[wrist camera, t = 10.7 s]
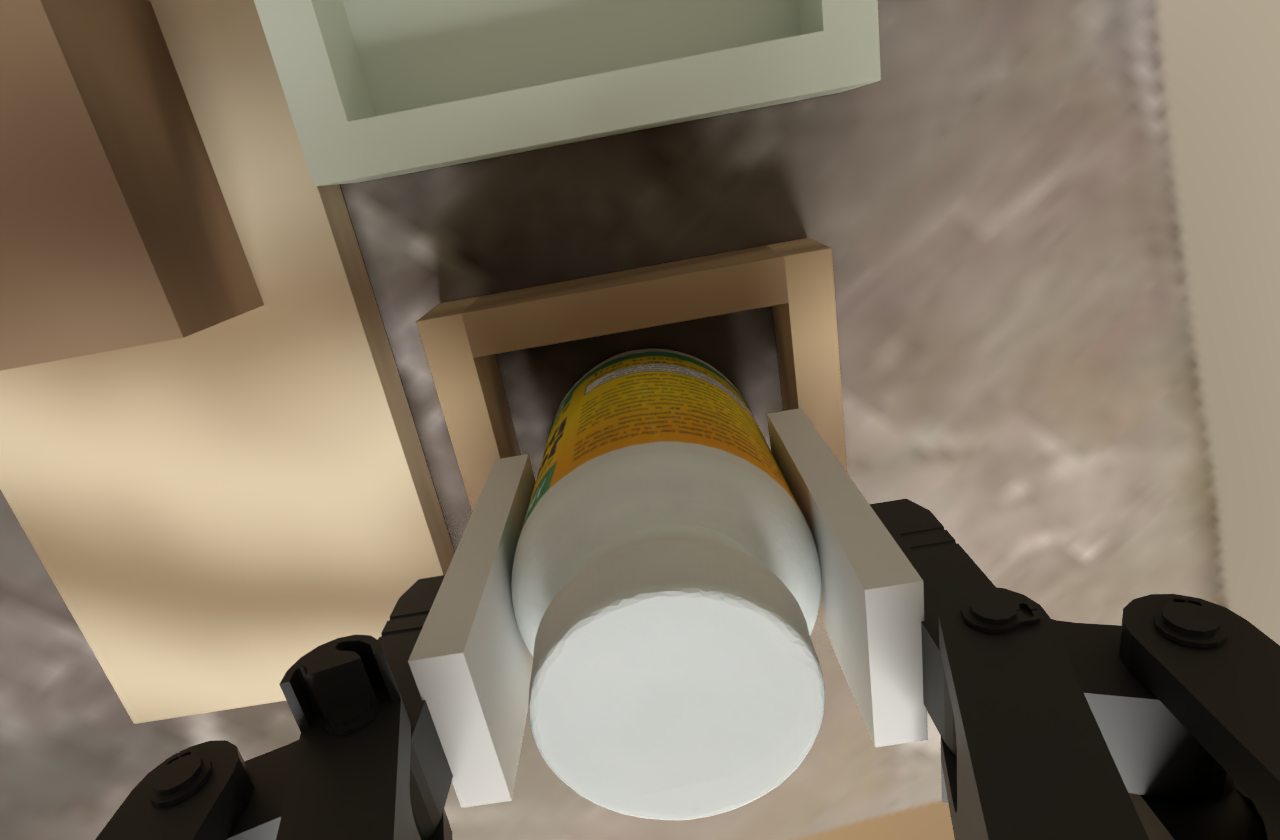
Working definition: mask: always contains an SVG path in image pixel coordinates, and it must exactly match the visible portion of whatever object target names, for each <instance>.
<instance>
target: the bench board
mask: <svg viewBox="0 0 1280 840" xmlns="http://www.w3.org/2000/svg"><path fill="white" fill-rule="evenodd" d="M146 1H149V2H151V4H152V7H153V9H154V12H155V15H156V18H157V20H158V23H159V26H160V28H161V31H162V34H163V36H164V39H165V42H166V44H167V47H168V50H169V52H170V55H171V58H172V60H173V63H174V66H175V68H176V71H177V74H178V76H179V79H180V82H181V84H182V87H183V90H184V92H185V95H186V98H187V100H188V103H189V106H190V108H191V111H192V114H193V116H194V119H195V122H196V124H197V127H198V130H199V132H200V135H201V138H202V140H203V143H204V146H205V148H206V151H207V154H208V156H209V159H210V162H211V164H212V167H213V170H214V172H215V175H216V178H217V180H218V183H219V186H220V188H221V191H222V194H223V196H224V199H225V202H226V204H227V207H228V210H229V212H230V215H231V218H232V220H233V223H234V226H235V228H236V231H237V234H238V236H239V239H240V242H241V244H242V247H243V250H244V252H245V255H246V258H247V260H248V263H249V266H250V268H251V271H252V274H253V277H254V279H255V282H256V285H257V287H258V290H259V293H260V295H261V298H262V301H263V303H264V305H263V306H261V307H258V308H256V309H253V310H251V311H248V312H246V313H244V314H241V315H239V316H236V317H234V318H231V319H229V320H226V321H224V322H221V323H219V324H216V325H214V326H211V327H209V328H206V329H204V330H201V331H199V332H196V333H194V334H192V335H189V336H187V337H184V338H179V339H174V340H168V341H163V342H157V343H151V344H146V345H140V346H135V347H129V348H124V349H118V350H113V351H107V352H101V353H96V354H90V355H85V356H79V357H74V358H68V359H62V360H57V361H51V362H46V363H40V364H35V365H29V366H24V367H18V368H12V369H7V370H1V371H0V489H1V491H2V493H3V494H4V496H5V498H6V500H7V502H8V503H9V505H10V507H11V509H12V510H13V512H14V514H15V516H16V517H17V519H18V521H19V523H20V524H21V526H22V528H23V530H24V531H25V533H26V535H27V537H28V538H29V540H30V542H31V544H32V545H33V547H34V549H35V551H36V552H37V554H38V556H39V558H40V559H41V561H42V563H43V565H44V566H45V568H46V570H47V572H48V573H49V575H50V577H51V579H52V581H53V582H54V584H55V586H56V588H57V589H58V591H59V593H60V595H61V596H62V598H63V600H64V602H65V603H66V605H67V607H68V609H69V610H70V612H71V614H72V616H73V617H74V619H75V621H76V623H77V624H78V626H79V628H80V630H81V631H82V633H83V635H84V637H85V638H86V640H87V642H88V644H89V645H90V647H91V649H92V651H93V653H94V654H95V656H96V658H97V660H98V661H99V663H100V665H101V667H102V668H103V670H104V672H105V674H106V675H107V677H108V679H109V681H110V682H111V684H112V686H113V688H114V689H115V691H116V693H117V695H118V696H119V698H120V700H121V702H122V703H123V705H124V707H125V709H126V710H127V712H128V714H129V716H130V717H131V719H132V721H133V723H134V724H136V723H143V722H149V721H155V720H162V719H168V718H175V717H181V716H188V715H194V714H201V713H207V712H214V711H220V710H227V709H233V708H240V707H246V706H253V705H259V704H266V703H272V702H278V701H285V700H286V698H285V696H284V694H283V691H282V689H281V687H280V685H279V684H280V682H281V680H282V679H283V677H284V675H285V673H286V672H287V670H288V669H289V668H290V667H291V666H292V665H294V664H295V663H296V662H297V661H298V660H299V659H300V658H301V657H302V656H304V655H305V654H307V653H309V652H310V651H312V650H313V649H315V648H316V647H318V646H320V645H322V644H325V643H327V642H330V641H332V640H335V639H337V638H341V637H346V636H351V635H356V634H357V635H371V636H372V637H374V638H376V639H377V640H378V638H379V637H381V636H382V634H381V632H382V630H383V628H384V627H385V625H386V623H387V621H390V615H391V613H392V611H393V609H394V607H395V605H396V603H397V601H398V599H399V598H400V597H401V596H402V595H403V594H404V593H405V592H406V591H407V590H408V589H409V588H410V587H411V586H412V585H413V584H414V583H415V582H416V581H417V580H419V579H423V578H429V577H436V576H442V575H445V574H446V572H447V570H448V568H449V565H450V563H451V561H452V558H453V556H454V554H455V552H454V548H453V545H452V542H451V539H450V536H449V533H448V529H447V526H446V523H445V520H444V517H443V513H442V510H441V507H440V504H439V501H438V497H437V494H436V491H435V488H434V485H433V482H432V478H431V475H430V472H429V469H428V466H427V462H426V459H425V456H424V453H423V450H422V446H421V443H420V440H419V437H418V434H417V431H416V427H415V424H414V421H413V418H412V415H411V411H410V408H409V405H408V402H407V399H406V395H405V392H404V389H403V386H402V383H401V380H400V376H399V373H398V370H397V367H396V364H395V360H394V357H393V354H392V351H391V348H390V344H389V341H388V338H387V335H386V332H385V329H384V325H383V322H382V319H381V316H380V313H379V309H378V306H377V303H376V300H375V297H374V293H373V290H372V287H371V284H370V281H369V278H368V274H367V271H366V268H365V265H364V262H363V258H362V255H361V252H360V249H359V246H358V242H357V239H356V236H355V233H354V230H353V227H352V223H351V220H350V217H349V214H348V211H347V207H346V204H345V201H344V198H343V195H342V191H341V188H340V185H339V184H337V185H325V186H314V183H313V180H312V177H311V174H310V171H309V168H308V165H307V162H306V159H305V156H304V153H303V150H302V147H301V144H300V141H299V138H298V134H297V131H296V128H295V125H294V122H293V119H292V116H291V113H290V110H289V107H288V104H287V101H286V98H285V95H284V92H283V89H282V85H281V82H280V79H279V76H278V73H277V70H276V67H275V64H274V61H273V58H272V55H271V52H270V49H269V46H268V43H267V40H266V36H265V33H264V30H263V27H262V24H261V21H260V18H259V15H258V12H257V9H256V6H255V3H254V0H146Z"/></svg>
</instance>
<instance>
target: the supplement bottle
mask: <svg viewBox="0 0 1280 840" xmlns="http://www.w3.org/2000/svg"><path fill="white" fill-rule="evenodd" d="M511 588H512V602H513V607H514V613H515V618H516V621H517V625H518V628H519V631H520V633H521V636H522V638H523V640H524V642H525V644H526V646H527V648H528V650H529V652H530V653H531V655H532V656H533V664H532V672H531V679H530V687H529V719H530V726H531V730H532V734H533V737H534V740H535V742H536V745H537V747H538V749H539V751H540V753H541V755H542V757H543V758H544V760H545V762H546V763H547V764H548V766H549V767H550V768H551V770H552V771H553V772H554V773H555V774H556V775H557V776H558V777H559V778H560V779H561V780H562V781H563V782H564V783H565V784H567V785H568V786H569V787H570V788H572V789H573V790H574V791H575V792H577V793H578V794H579V795H581V796H582V797H584V798H586V799H588V800H590V801H591V802H593V803H594V804H597V805H599V806H602V807H604V808H607V809H610V810H613V811H615V812H618V813H620V814H623V815H630V816H635V817H639V818H648V819H659V820H690V819H696V818H704V817H710V816H713V815H717V814H721V813H724V812H728V811H730V810H733V809H736V808H738V807H741V806H743V805H745V804H748V803H750V802H752V801H754V800H756V799H758V798H760V797H762V796H763V795H765V794H767V793H768V792H769V791H771V790H772V789H774V788H776V787H777V786H779V785H780V784H781V783H782V782H783V781H784V780H785V779H787V778H788V777H789V775H790V774H791V773H793V772H794V771H795V770H796V769H797V768H798V766H799V765H800V764H801V763H802V761H803V760H804V758H805V757H806V755H807V753H808V752H809V750H810V749H811V747H812V745H813V743H814V740H815V738H816V736H817V734H818V731H819V729H820V726H821V722H822V718H823V713H824V695H825V688H824V681H823V676H822V672H821V667H820V663H819V660H818V657H817V655H816V652H815V649H814V646H813V644H812V641H811V638H810V635H811V632H812V630H813V627H814V624H815V621H816V617H817V614H818V610H819V604H820V597H821V569H820V562H819V556H818V552H817V548H816V544H815V541H814V538H813V535H812V532H811V530H810V528H809V526H808V524H807V522H806V519H805V517H804V515H803V513H802V511H801V509H800V507H799V505H798V503H797V502H796V500H795V498H794V496H793V494H792V492H791V490H790V488H789V486H788V484H787V482H786V480H785V478H784V476H783V474H782V472H781V470H780V468H779V466H778V464H777V462H776V461H775V459H774V457H773V455H772V453H771V451H770V449H769V447H768V445H767V443H766V440H765V438H764V436H763V435H762V432H761V430H760V428H759V426H758V424H757V422H756V420H755V419H754V416H753V414H752V412H751V410H750V409H749V407H748V405H747V403H746V402H745V400H744V398H743V397H742V395H741V394H740V392H739V391H738V390H737V388H736V387H735V386H734V385H733V384H732V383H731V382H730V381H729V380H728V379H727V378H726V377H725V376H724V375H723V374H722V373H720V372H719V371H718V370H717V369H715V368H714V367H712V366H711V365H709V364H708V363H706V362H704V361H702V360H700V359H698V358H696V357H694V356H691V355H689V354H686V353H682V352H678V351H673V350H667V349H640V350H633V351H628V352H624V353H621V354H618V355H615V356H613V357H611V358H609V359H607V360H605V361H603V362H602V363H600V364H598V365H597V366H595V367H594V368H592V369H591V370H590V371H589V372H587V373H586V374H585V375H584V376H583V377H582V378H581V379H580V380H578V381H577V382H576V383H575V385H574V386H573V387H572V388H571V389H570V391H569V392H568V393H567V395H566V396H565V398H564V399H563V401H562V403H561V405H560V406H559V408H558V411H557V413H556V415H555V418H554V421H553V424H552V427H551V431H550V434H549V438H548V441H547V445H546V448H545V452H544V455H543V459H542V463H541V466H540V469H539V473H538V476H537V480H536V483H535V486H534V489H533V493H532V496H531V499H530V503H529V506H528V510H527V513H526V516H525V519H524V523H523V526H522V530H521V533H520V536H519V539H518V543H517V547H516V551H515V556H514V562H513V569H512V582H511Z"/></svg>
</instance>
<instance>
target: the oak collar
mask: <svg viewBox="0 0 1280 840" xmlns="http://www.w3.org/2000/svg"><path fill="white" fill-rule="evenodd" d="M768 306H772V308H773V317H774V327H775V337H776V346H777V356H778V366H779V375H780V385H781V395H782V404H783V411H787V410H793V409H799V408H802V410H803V411H804V412H805V414H806V415H807V417H808V418H809V420H810V421H811V422H812V424H813V425H814V427H815V428H816V429H817V431H818V432H819V434H820V435H821V437H822V438H823V439H824V441H825V442H826V444H827V445H828V447H829V448H830V449H831V451H832V452H833V454H834V455H835V456H836V458H837V459H838V461H839V462H840V464H841V465H842V466H843V468H844V469H845V471H846V472H847V462H846V448H845V434H844V419H843V405H842V391H841V377H840V362H839V348H838V334H837V320H836V305H835V291H834V277H833V263H832V248H830V247H828V246H826V245H823V244H821V243H819V242H816V241H814V240H812V239H809V238H804V239H798V240H793V241H787V242H782V243H776V244H770V245H765V246H759V247H753V248H748V249H742V250H737V251H731V252H725V253H720V254H714V255H709V256H703V257H697V258H692V259H686V260H681V261H675V262H669V263H664V264H658V265H653V266H647V267H641V268H636V269H630V270H624V271H619V272H613V273H608V274H602V275H596V276H591V277H585V278H580V279H574V280H568V281H563V282H557V283H552V284H546V285H540V286H535V287H529V288H524V289H518V290H512V291H507V292H501V293H495V294H490V295H484V296H479V297H473V298H467V299H462V300H456V301H451V302H445V303H440V304H438V305H437V306H436V307H434V308H433V309H432V310H431V311H429V312H428V313H427V314H425V315H424V316H423V317H422V318H420V319H419V320H418V321H416V323H417V326H418V330H419V333H420V336H421V340H422V343H423V347H424V350H425V353H426V357H427V360H428V364H429V367H430V370H431V374H432V377H433V380H434V384H435V387H436V391H437V394H438V397H439V401H440V404H441V408H442V411H443V414H444V418H445V421H446V424H447V428H448V431H449V435H450V438H451V441H452V445H453V448H454V451H455V455H456V458H457V462H458V465H459V468H460V472H461V475H462V479H463V482H464V485H465V489H466V492H467V495H468V499H469V502H470V506H471V509H472V512H473V510H474V508H475V505H476V503H477V501H478V498H479V496H480V494H481V491H482V489H483V487H484V484H485V482H486V480H487V477H488V475H489V473H490V471H491V468H492V466H493V464H494V461H495V459H501V458H507V457H513V456H519V455H521V454H520V450H519V447H518V443H517V439H516V435H515V431H514V427H513V423H512V419H511V416H510V412H509V408H508V404H507V400H506V396H505V392H504V388H503V385H502V381H501V377H500V373H499V369H498V365H497V361H496V357H495V354H498V353H504V352H510V351H516V350H521V349H527V348H533V347H538V346H544V345H550V344H556V343H561V342H567V341H573V340H579V339H584V338H590V337H596V336H602V335H607V334H613V333H619V332H624V331H630V330H636V329H642V328H647V327H653V326H659V325H665V324H670V323H676V322H682V321H688V320H693V319H699V318H705V317H710V316H716V315H722V314H728V313H733V312H739V311H745V310H751V309H756V308H762V307H768Z"/></svg>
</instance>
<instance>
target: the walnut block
mask: <svg viewBox="0 0 1280 840" xmlns="http://www.w3.org/2000/svg"><path fill="white" fill-rule="evenodd" d="M263 305H264V303H263V301H262V298H261V295H260V293H259V290H258V287H257V285H256V282H255V279H254V277H253V274H252V271H251V268H250V266H249V263H248V260H247V258H246V255H245V252H244V250H243V247H242V244H241V242H240V239H239V236H238V234H237V231H236V228H235V226H234V223H233V220H232V218H231V215H230V212H229V210H228V207H227V204H226V202H225V199H224V196H223V194H222V191H221V188H220V186H219V183H218V180H217V178H216V175H215V172H214V170H213V167H212V164H211V162H210V159H209V156H208V154H207V151H206V148H205V146H204V143H203V140H202V138H201V135H200V132H199V130H198V127H197V124H196V122H195V119H194V116H193V114H192V111H191V108H190V106H189V103H188V100H187V98H186V95H185V92H184V90H183V87H182V84H181V82H180V79H179V76H178V74H177V71H176V68H175V66H174V63H173V60H172V58H171V55H170V52H169V50H168V47H167V44H166V42H165V39H164V36H163V34H162V31H161V28H160V26H159V23H158V20H157V18H156V15H155V12H154V9H153V7H152V4H151V2H149V1H146V0H0V371H1V370H7V369H12V368H18V367H24V366H29V365H35V364H40V363H46V362H51V361H57V360H62V359H68V358H74V357H79V356H85V355H90V354H96V353H101V352H107V351H113V350H118V349H124V348H129V347H135V346H140V345H146V344H151V343H157V342H163V341H168V340H174V339H179V338H184V337H187V336H189V335H192V334H194V333H196V332H199V331H201V330H204V329H206V328H209V327H211V326H214V325H216V324H219V323H221V322H224V321H226V320H229V319H231V318H234V317H236V316H239V315H241V314H244V313H246V312H248V311H251V310H253V309H256V308H258V307H261V306H263Z"/></svg>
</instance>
